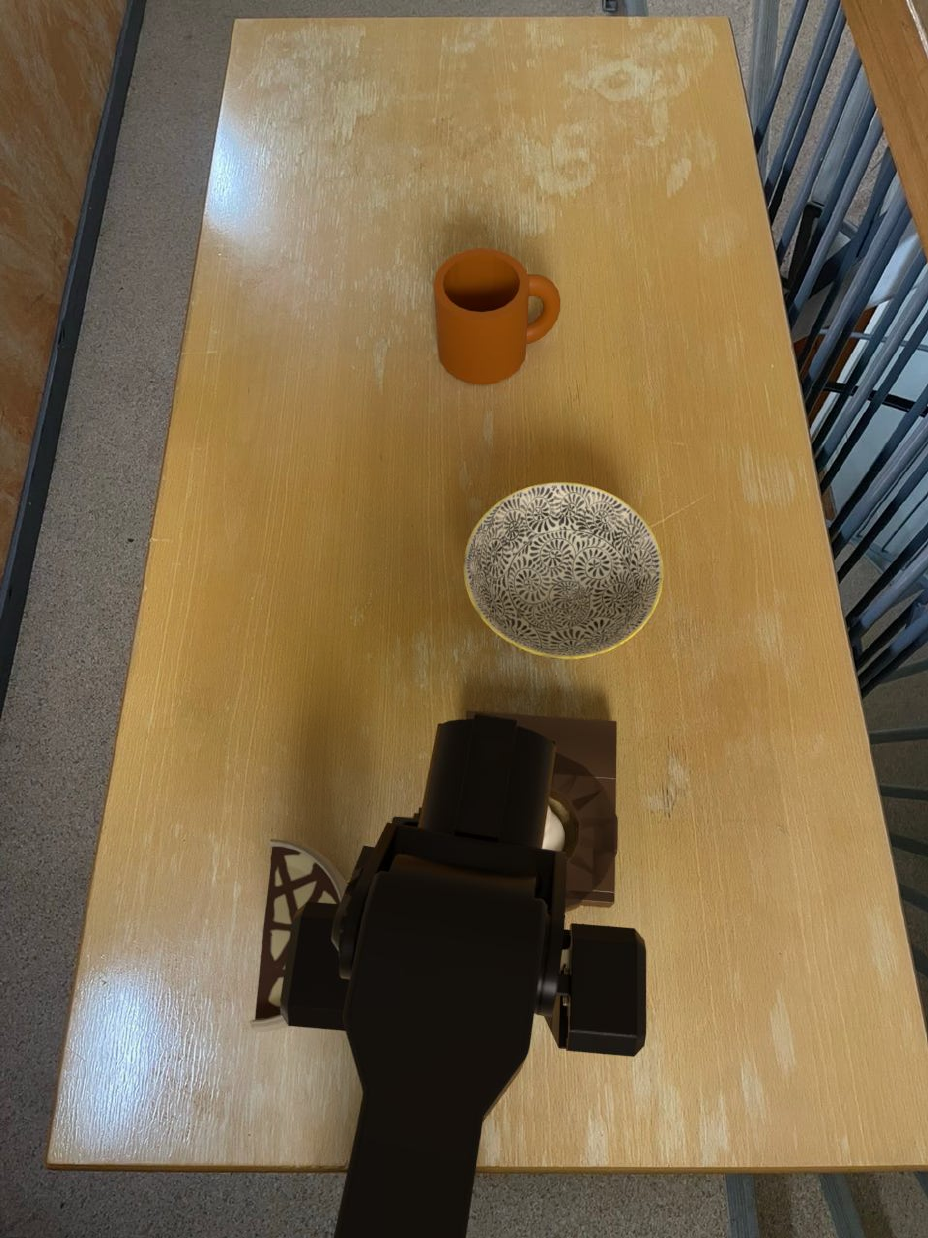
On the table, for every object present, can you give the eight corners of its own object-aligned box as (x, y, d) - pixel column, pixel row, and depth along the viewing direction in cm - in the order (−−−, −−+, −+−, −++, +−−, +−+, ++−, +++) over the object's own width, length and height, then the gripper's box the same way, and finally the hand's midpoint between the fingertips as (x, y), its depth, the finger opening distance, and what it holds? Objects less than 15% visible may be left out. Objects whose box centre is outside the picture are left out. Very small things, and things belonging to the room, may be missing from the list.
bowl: (428, 622, 80) (423, 583, 73) (535, 496, 85) (539, 448, 78) (581, 728, 75) (590, 696, 68) (684, 589, 80) (702, 546, 74)
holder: (612, 924, 69) (616, 920, 66) (448, 911, 69) (447, 906, 67) (615, 730, 75) (619, 721, 73) (464, 720, 76) (464, 710, 74)
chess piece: (492, 855, 71) (491, 826, 62) (515, 797, 73) (517, 760, 64) (552, 879, 70) (560, 854, 61) (573, 820, 72) (584, 786, 63)
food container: (366, 1035, 66) (346, 1034, 57) (281, 1034, 66) (247, 1032, 57) (375, 860, 71) (358, 834, 62) (296, 860, 71) (268, 833, 62)
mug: (560, 384, 90) (567, 318, 82) (438, 387, 90) (433, 321, 82) (555, 314, 94) (562, 244, 86) (438, 317, 94) (433, 247, 86)
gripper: (665, 807, 45) (622, 864, 59) (288, 779, 46) (335, 842, 60) (668, 1060, 40) (621, 1056, 54) (247, 1022, 41) (309, 1028, 55)
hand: (468, 986), depth 56 cm, fingers open, 9 cm apart
